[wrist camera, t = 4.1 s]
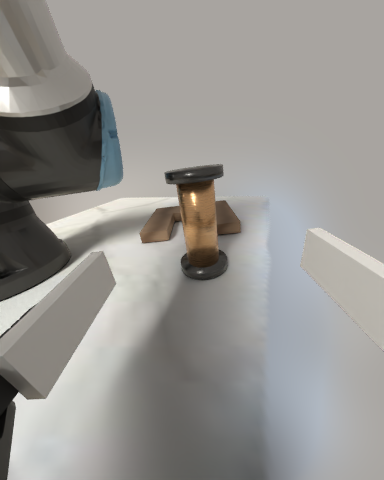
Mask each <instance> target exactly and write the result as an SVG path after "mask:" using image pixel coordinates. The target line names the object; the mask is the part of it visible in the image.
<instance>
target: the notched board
mask: <svg viewBox="0 0 384 480" xmlns="http://www.w3.org/2000/svg"><path fill="white" fill-rule="evenodd" d="M215 206H216V221H217V235H220V234H229V233H238V232H240V220H239V219H238V218H237V216H236V215H235V213H234V212H233V211H232V209H231V208H230V207H229V205H228V204H227V202H226V201H225V200H224V201H216V202H215ZM174 221H182V218H181V211H180V206H175V207H167V208H159V209H156V211H155V212H154V213H153V215H152V216H151V218H150V219H149V220H148V222H147V223H146V225H145V226H144V228H143V229H142V230H141V232H140V237H141V240H142V243H147V242H156V241H165V240H169V238H170V235H171V231H172V228H173V224H174Z"/></svg>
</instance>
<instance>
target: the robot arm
mask: <svg viewBox="0 0 384 480" xmlns="http://www.w3.org/2000/svg"><path fill="white" fill-rule="evenodd" d="M122 179H123V165H122V157H121V151H120V144H119V139H118V136H117V129H116V122H115V117H114V112H113V108H112V104H111V101H110V98H109V96H108V95H107V94H106V93H104V92H101V91H100V90H96V91H95V90H94V87H93V84H92V80H91V78H90V75H89V73H88V72H87V70H86V69H85V68H84V67H83V66H81V65H80V64H79V63H78V62H77V61H75V60H74V59H73V58H72V57H71V56H70V55H68V54H67V53H66V51H65V49H64V47H63V44H62V42H61V39H60V37H59V34H58V31H57V29H56V26H55V24H54V21H53V18H52V16H51V13H50V11H49V8H48V5H47V3H46V0H0V300H3V299H5V298H8V297H10V296H13V295H15V294H17V293H20V292H22V291H24V290H26V289H28V288H30V287H32V286H34V285H36V284H38V283H40V282H41V281H43V280H45V279H46V278H48V277H50V276H51V275H53V274H54V273H56V272H57V271H58V270H60V269H61V268H62V267H63V266H64V265H65V264H66V263H67V262H68V261H69V259H70V257H71V253H70V251H69V249H68V247H67V245H66V244H65V242H64V241H63V240H61V239H58V238H57V236H56V235H55V234H54V233H53V232H52V231H51V230H50V229H49V228H48V227H47V226H46V225H45V224H44V223H43V222H42V221H41V220H40V219H39V218H38V217H37V216H36V214H35V212H34V210H33V208H32V206H31V205H30V203H29V200H35V199H41V198H48V197H54V196H61V195H68V194H74V193H81V192H88V191H94V190H96V191H98V190H100V189H102V188H106V187H111V186H115V185H117V184H119V183H120V182H121V181H122ZM300 266H301V267H302V268H303V269H304V270H305V271H306V272H307V274H308V275H309V276H310V277H311V278H312V279H313V280H314V281H315V282H316V283H317V284H318V285H319V286H320V287H321V288H322V289H323V290H324V291H325V292H326V293H327V294H328V295H329V296H330V297H331V298H332V299H333V300H334V301H335V302H336V303H337V304H338V305H339V306H340V307H341V308H342V310H343V311H344V312H346V314H348V316H349V317H350V318H351V319H352V320H353V321H354V322H355V323H356V324H357V325H358V326H359V327H360V328H361V329H362V330H363V331H364V332H365V333H366V334H367V335H368V336H369V337H370V338H371V339H372V340H373V341H374V342H375V343H376V344H377V345H378V347H379V348H380V349H381V350H382V351H383V352H384V264H383V263H381V262H380V261H378V260H376V259H374V258H372V257H371V256H369V255H367V254H365V253H364V252H362V251H360V250H358V249H356V248H355V247H353V246H351V245H349V244H348V243H346V242H344V241H342V240H340V239H339V238H337V237H335V236H333V235H332V234H330V233H328V232H326V231H325V230H323V229H321V228H314V229H307V232H306V238H305V243H304V248H303V254H302V259H301V264H300ZM115 285H116V282H115V279H114V277H113V274H112V272H111V269H110V267H109V264H108V262H107V260H106V257H105V255H104V252H103V251H100V252H92V253H91V254H90V255H89V256H88V257H87V258H86V259H85V260H83V261H82V262H81V263H80V264H79V265H78V266H77V267H76V268H75V269H74V270H73V271H72V272H71V273H70V274H69V275H68V276H66V277H65V278H64V279H63V280H62V281H61V282H60V283H59V284H58V285H57V286H56V287H55V288H54V289H53V290H52V291H51V292H49V293H48V294H47V295H46V296H45V297H44V298H43V299H42V300H41V301H40V302H39V303H38V304H36V305H35V306H33V307H32V308H30V309H29V310H28V311H27V312H26V313H25V314H24V315H23V316H22V317H20V320H17V321H16V322H15V323H14V324H13V325H12V326H11V328H9V329H7V330H6V331H5V332H4V333H3V334H2V335H1V336H0V480H7V476H8V468H9V459H10V451H11V443H12V435H13V426H14V418H15V410H16V406H15V403H14V402H13V401H12V400H13V399H14V397H15V396H16V395H17V393H18V392H19V393H21V394H22V395H23V396H24V397H25V398H26V399H27V400H28V399H46V398H47V396H48V394H49V393H50V391H51V389H52V388H53V386H54V384H55V383H56V381H57V380H58V378H59V376H60V375H61V373H62V371H63V370H64V368H65V367H66V365H67V363H68V362H69V360H70V358H71V357H72V355H73V353H74V352H75V350H76V349H77V347H78V345H79V344H80V342H81V340H82V339H83V337H84V335H85V334H86V332H87V331H88V329H89V327H90V326H91V324H92V322H93V321H94V319H95V317H96V316H97V314H98V313H99V311H100V309H101V308H102V306H103V304H104V303H105V301H106V299H107V298H108V296H109V295H110V293H111V291H112V290H113V288H114V286H115Z"/></svg>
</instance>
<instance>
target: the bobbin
mask: <svg viewBox="0 0 384 480" xmlns="http://www.w3.org/2000/svg"><path fill="white" fill-rule="evenodd" d="M222 176H223V165H222V164H220V165H219V164H217V165H206V166H197V167H190V168H183V169H177V170H172V171H167V172H165V179H166V183H167V184H176V186H177V192H178V199H179V205H180V211H181V218H182V224H183V230H184V236H185V243H186V249H187V253H186V254H185V255H184V256H183V257H182V259H181V266H182V271H183V273H184V274H185V275H186V276H188V277H190V278H193V279H198V280H206V279H212V278H215V277H217V276H219V275H221V274H222V273H223V272H224V271H225V270H226V268H227V256H226V254H225V253H224V252H223V251H221V250H219V249H218V236H217V221H216V206H215V191H214V179H217V178H220V177H222Z"/></svg>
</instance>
